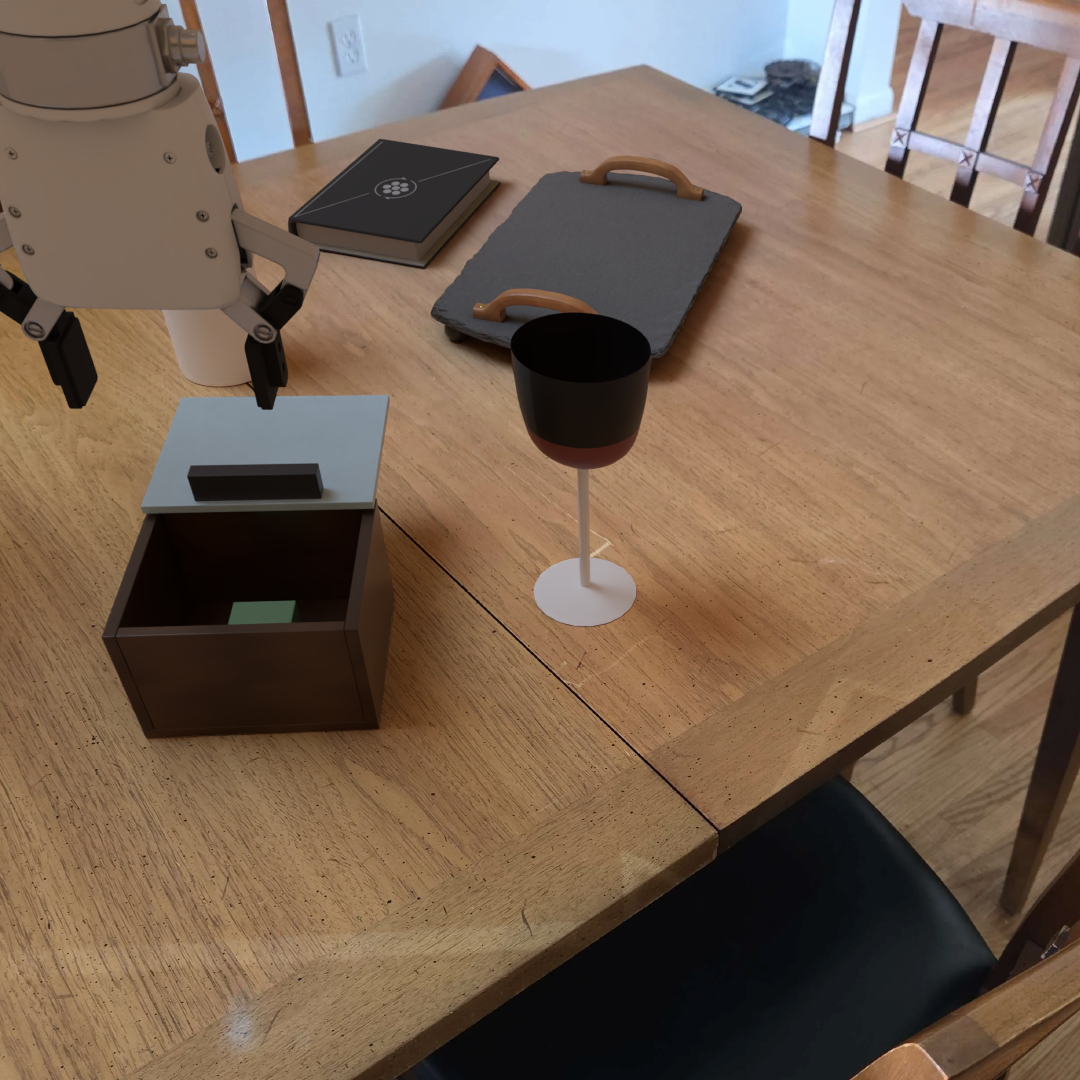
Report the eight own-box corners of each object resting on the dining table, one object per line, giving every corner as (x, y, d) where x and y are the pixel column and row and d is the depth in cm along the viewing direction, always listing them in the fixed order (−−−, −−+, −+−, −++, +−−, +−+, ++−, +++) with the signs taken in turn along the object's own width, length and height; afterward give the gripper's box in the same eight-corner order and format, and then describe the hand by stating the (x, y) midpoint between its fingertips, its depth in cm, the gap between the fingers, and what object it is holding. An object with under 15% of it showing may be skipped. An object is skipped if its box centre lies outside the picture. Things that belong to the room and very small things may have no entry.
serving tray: (655, 399, 103) (658, 336, 98) (413, 354, 106) (404, 291, 102) (750, 216, 129) (755, 159, 124) (553, 185, 132) (551, 129, 128)
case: (145, 738, 73) (100, 637, 67) (185, 603, 82) (149, 502, 76) (379, 729, 75) (357, 629, 68) (394, 598, 83) (377, 498, 77)
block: (236, 688, 76) (222, 644, 73) (247, 645, 78) (233, 601, 76) (299, 686, 76) (287, 642, 73) (307, 643, 79) (296, 600, 76)
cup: (160, 365, 103) (103, 187, 92) (233, 328, 108) (188, 154, 96) (222, 397, 100) (172, 217, 89) (294, 358, 105) (256, 182, 93)
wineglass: (560, 541, 88) (551, 299, 74) (662, 578, 86) (673, 335, 72) (505, 603, 83) (484, 357, 69) (611, 644, 81) (613, 397, 67)
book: (381, 164, 134) (377, 137, 132) (501, 183, 132) (499, 156, 130) (290, 246, 120) (284, 217, 117) (424, 269, 117) (420, 240, 115)
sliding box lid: (142, 514, 74) (130, 481, 72) (183, 404, 83) (173, 372, 81) (374, 509, 76) (368, 476, 74) (390, 401, 84) (385, 370, 82)
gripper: (297, 33, 54) (349, 359, 66) (-99, 18, 52) (30, 356, 64) (273, 94, 48) (334, 436, 61) (-169, 80, 47) (-13, 435, 59)
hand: (178, 395), depth 62 cm, fingers open, 9 cm apart
